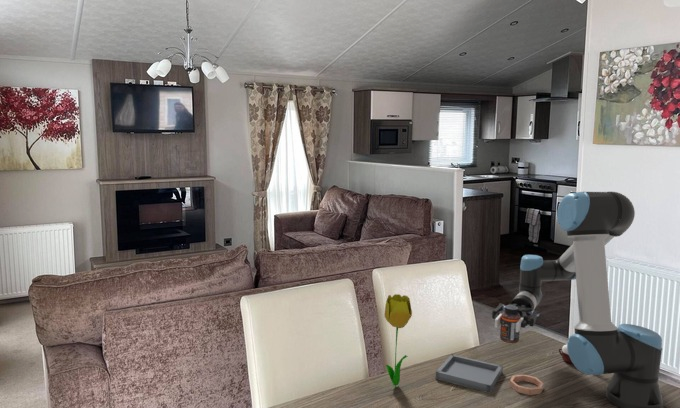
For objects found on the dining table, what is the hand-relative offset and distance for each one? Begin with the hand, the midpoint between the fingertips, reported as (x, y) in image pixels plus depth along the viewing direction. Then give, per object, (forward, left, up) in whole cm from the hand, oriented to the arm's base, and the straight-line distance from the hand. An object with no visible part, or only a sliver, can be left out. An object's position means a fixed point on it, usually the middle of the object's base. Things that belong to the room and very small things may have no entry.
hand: (506, 325), depth 164 cm
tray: (+12, -2, -21) cm, 24 cm away
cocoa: (-16, -32, -21) cm, 42 cm away
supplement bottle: (0, -5, -7) cm, 9 cm away
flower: (+30, +18, -21) cm, 40 cm away
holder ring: (-6, -4, -21) cm, 22 cm away
